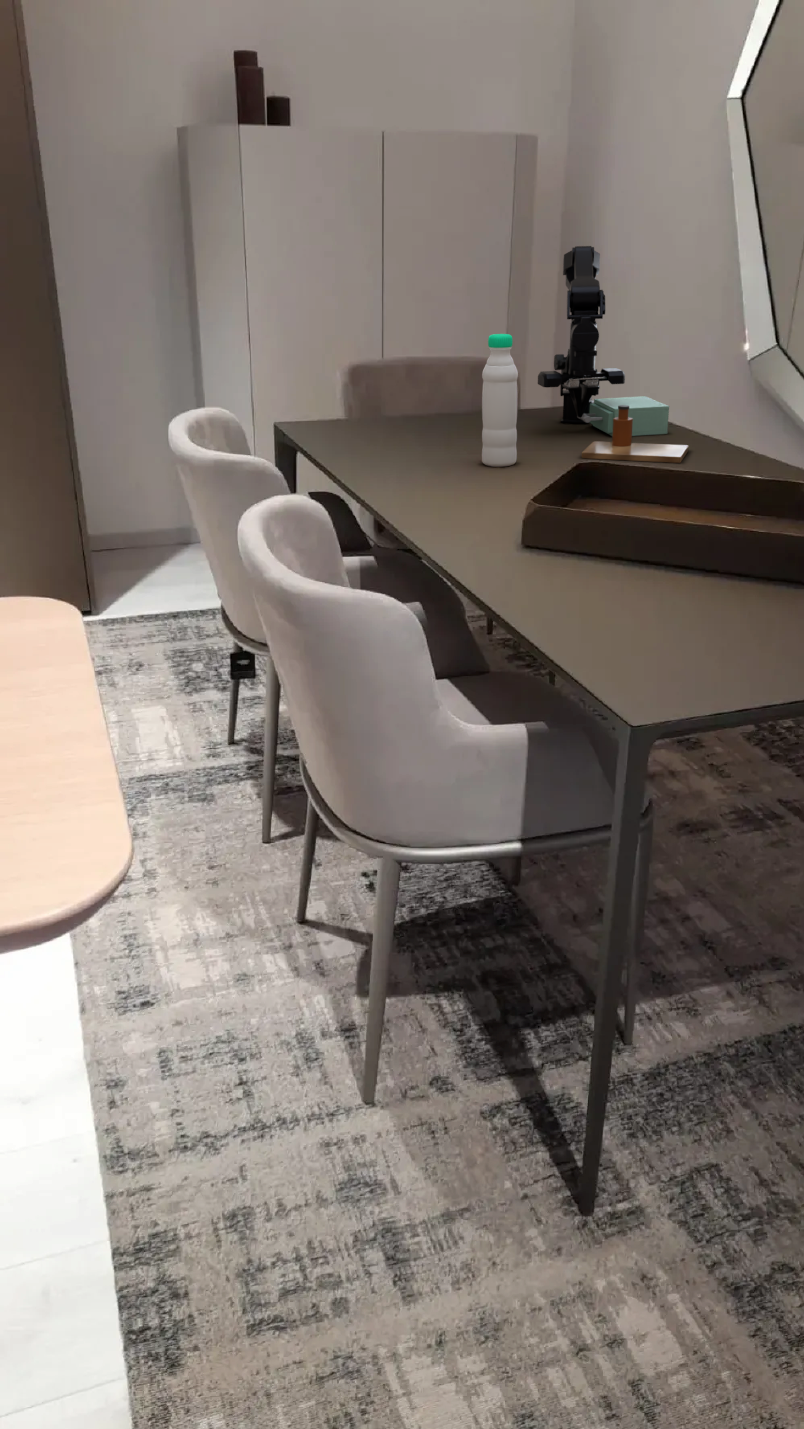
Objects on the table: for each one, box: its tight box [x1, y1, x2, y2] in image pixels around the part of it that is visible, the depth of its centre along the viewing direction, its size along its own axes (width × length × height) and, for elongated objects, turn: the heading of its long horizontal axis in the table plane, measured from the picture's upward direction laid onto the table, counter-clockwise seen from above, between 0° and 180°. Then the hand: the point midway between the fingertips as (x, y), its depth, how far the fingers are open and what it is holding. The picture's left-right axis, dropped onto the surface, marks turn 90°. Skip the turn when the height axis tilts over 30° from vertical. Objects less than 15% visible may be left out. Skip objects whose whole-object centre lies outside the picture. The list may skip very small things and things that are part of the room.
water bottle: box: [481, 333, 519, 468], centre depth 219 cm, size 7×7×25 cm
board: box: [581, 440, 689, 464], centre depth 228 cm, size 20×12×1 cm, turn 69°
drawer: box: [578, 403, 614, 434], centre depth 251 cm, size 16×13×4 cm
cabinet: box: [592, 395, 670, 437], centre depth 252 cm, size 13×15×6 cm
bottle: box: [611, 405, 633, 447], centre depth 230 cm, size 4×4×8 cm
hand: (579, 417), depth 250 cm, fingers closed
